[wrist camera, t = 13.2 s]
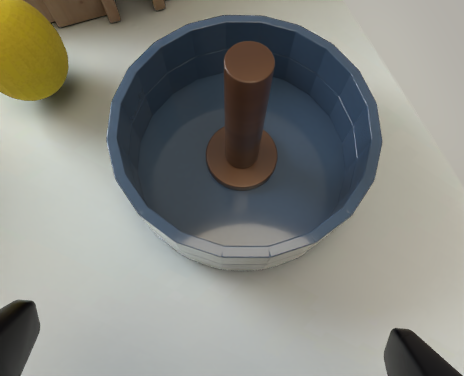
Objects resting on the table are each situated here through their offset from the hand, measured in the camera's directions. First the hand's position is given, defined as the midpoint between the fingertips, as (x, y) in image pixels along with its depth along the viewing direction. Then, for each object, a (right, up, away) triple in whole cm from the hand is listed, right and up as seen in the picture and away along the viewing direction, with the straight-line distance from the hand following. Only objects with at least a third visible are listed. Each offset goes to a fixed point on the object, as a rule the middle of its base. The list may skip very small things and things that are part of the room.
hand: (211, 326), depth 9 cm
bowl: (+1, +5, +16) cm, 17 cm away
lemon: (-13, +11, +18) cm, 25 cm away
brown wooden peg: (+1, +6, +16) cm, 17 cm away
